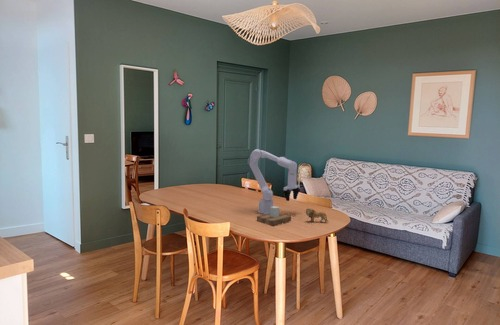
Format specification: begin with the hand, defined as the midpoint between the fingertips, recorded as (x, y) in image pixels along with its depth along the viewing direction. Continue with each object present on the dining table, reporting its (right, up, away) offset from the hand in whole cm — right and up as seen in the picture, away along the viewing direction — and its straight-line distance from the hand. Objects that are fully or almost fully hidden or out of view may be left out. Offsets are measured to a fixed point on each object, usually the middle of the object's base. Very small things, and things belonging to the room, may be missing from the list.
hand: (291, 199), depth 245 cm
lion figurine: (+14, -13, -16) cm, 24 cm away
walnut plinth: (-13, -12, -16) cm, 24 cm away
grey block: (-12, -9, -17) cm, 22 cm away
